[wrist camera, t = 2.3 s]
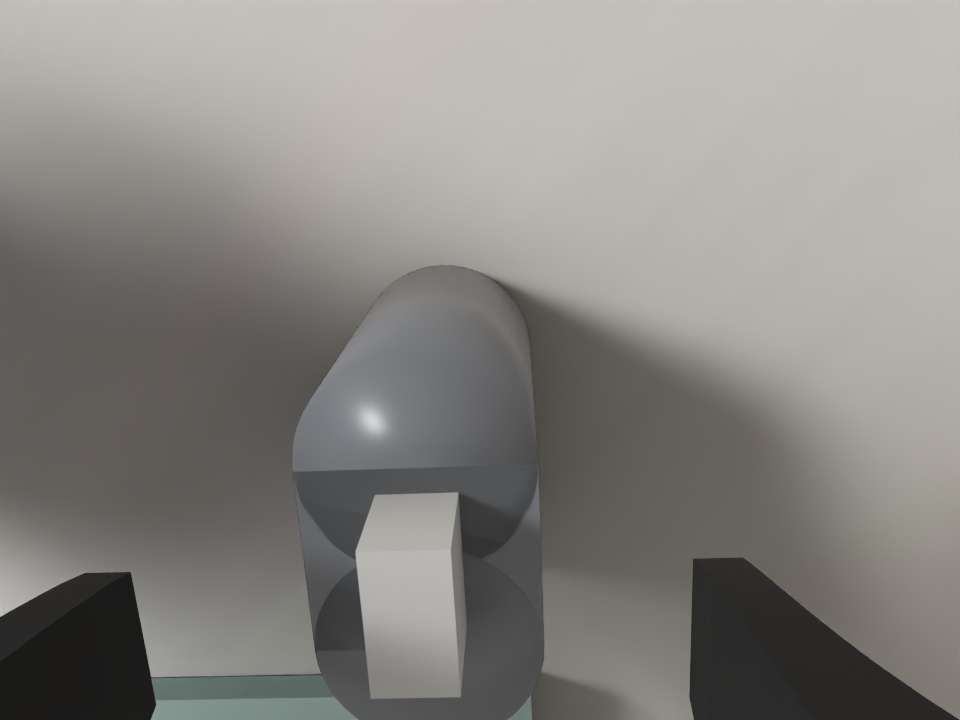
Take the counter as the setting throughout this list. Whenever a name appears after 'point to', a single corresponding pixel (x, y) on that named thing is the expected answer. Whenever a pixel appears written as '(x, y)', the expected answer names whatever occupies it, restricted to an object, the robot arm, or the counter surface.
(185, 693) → the sage tray
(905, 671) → the counter surface
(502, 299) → the grey rounded piece
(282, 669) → the counter surface
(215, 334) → the counter surface
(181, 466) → the counter surface
